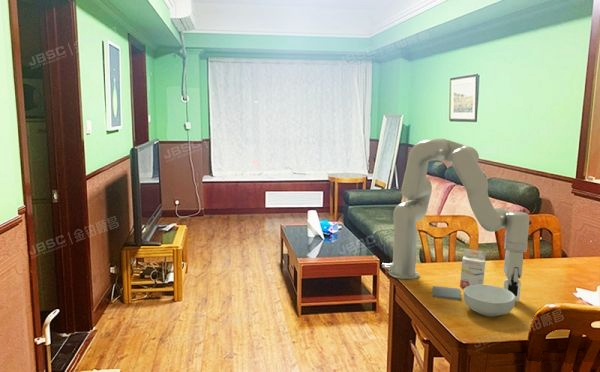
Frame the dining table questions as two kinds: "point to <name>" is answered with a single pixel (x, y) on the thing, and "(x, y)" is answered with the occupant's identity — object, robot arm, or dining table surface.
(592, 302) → the dining table surface
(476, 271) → the ink cartridge box
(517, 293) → the eye dropper bottle
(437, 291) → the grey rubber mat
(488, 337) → the dining table surface
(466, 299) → the cereal bowl
